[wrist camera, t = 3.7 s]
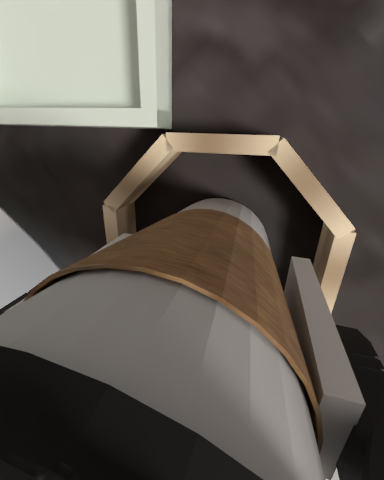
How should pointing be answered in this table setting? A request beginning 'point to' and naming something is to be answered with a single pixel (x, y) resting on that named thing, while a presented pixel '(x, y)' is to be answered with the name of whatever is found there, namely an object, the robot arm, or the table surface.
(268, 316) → the coffee cup
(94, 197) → the table surface
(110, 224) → the holder ring
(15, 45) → the tray
